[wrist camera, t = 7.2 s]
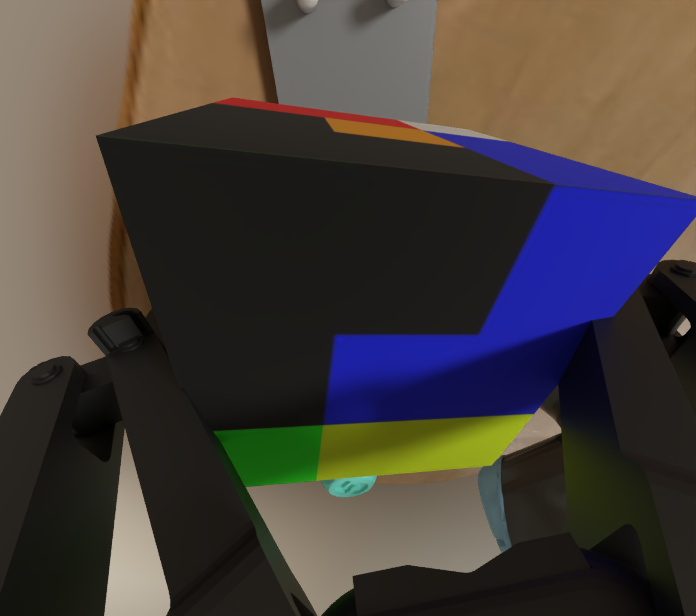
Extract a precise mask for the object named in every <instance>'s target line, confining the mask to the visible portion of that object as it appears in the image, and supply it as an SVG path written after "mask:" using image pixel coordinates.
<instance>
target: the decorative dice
mask: <svg viewBox="0 0 696 616" xmlns="http://www.w3.org/2000/svg"><path fill="white" fill-rule="evenodd" d="M376 478H377V476H365V477H354V478H342V479H331V480H321V483H322V484H323V486H324V487H325V489H326V490H327V491H328V492H329V493H330V494H332V495H334V496H337V497H352V496H356V495H360V494H362V493H365V492H366V491H368V490H369V489H370V488H371V487H372V486H373V484H374V482H375V480H376Z"/></svg>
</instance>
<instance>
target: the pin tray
mask: <svg viewBox="0 0 696 616" xmlns="http://www.w3.org/2000/svg"><path fill="white" fill-rule="evenodd" d="M261 2H262V8H263V14H264V20H265V26H266V32H267V38H268V43H269V49H270V55H271V61H272V67H273V73H274V79H275V84H276V90H277V96H278V102H279V104H283V105H290V106H298V107H305V108H313V109H320V110H327V111H335V112H342V113H350V114H357V115H364V116H372V117H379V118H387V119H394V120H401V121H409V122H416V123H424V124H427V116H428V104H429V92H430V80H431V68H432V56H433V44H434V32H435V20H436V8H437V0H261Z"/></svg>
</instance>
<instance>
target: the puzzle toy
mask: <svg viewBox="0 0 696 616" xmlns="http://www.w3.org/2000/svg"><path fill="white" fill-rule="evenodd" d="M96 138H97V141H98V144H99V147H100V150H101V153H102V156H103V159H104V162H105V165H106V168H107V171H108V175H109V178H110V181H111V184H112V187H113V190H114V193H115V196H116V199H117V202H118V205H119V208H120V211H121V214H122V217H123V220H124V223H125V226H126V229H127V232H128V235H129V238H130V241H131V245H132V248H133V251H134V254H135V257H136V260H137V263H138V266H139V269H140V272H141V275H142V278H143V281H144V284H145V287H146V290H147V293H148V296H149V299H150V302H151V305H152V308H153V311H154V314H155V318H156V321H157V324H158V327H159V330H160V333H161V336H162V339H163V342H164V345H165V348H166V351H167V354H168V357H169V360H170V363H171V366H172V369H173V372H174V375H175V378H176V381H177V384H178V387H179V389H180V388H184V390H185V391H186V392H187V394H188V395H189V397H190V398H191V400H192V401H193V403H194V404H195V406H196V407H197V408H198V410H199V411H200V413H201V414H202V416H203V417H204V419H205V420H206V421H207V423H208V424H209V426H210V427H211V429H212V430H213V432H214V433H215V434H216V436H217V437H218V439H219V440H220V442H221V443H222V445H223V447H224V449H225V451H226V452H227V454H228V456H229V458H230V460H231V462H232V463H233V465H234V467H235V469H236V471H237V473H238V474H239V476H240V478H241V480H242V482H243V484H244V486H245V487H250V486H261V485H273V484H284V483H296V482H308V481H319V480H331V479H342V478H354V477H365V476H377V475H388V474H400V473H412V472H423V471H435V470H446V469H458V468H469V467H481V466H492V464H493V463H494V462H495V461H496V460H497V458H498V457H499V456H500V455H501V454H502V452H503V451H504V450H505V449H506V447H507V446H508V445H509V444H510V443H511V441H512V440H513V439H514V438H515V436H516V435H517V434H518V433H519V432H520V430H521V429H522V428H523V427H524V425H525V424H526V423H527V422H528V421H529V419H530V418H531V417H532V416H533V415H534V413H535V412H536V411H537V410H538V408H539V407H540V406H541V405H542V404H543V402H544V401H545V400H546V399H547V397H548V396H549V395H550V394H551V393H552V391H553V390H554V389H555V388H556V386H557V385H558V383H559V381H560V379H561V377H562V375H563V373H564V372H565V370H566V368H567V366H568V364H569V362H570V360H571V359H572V357H573V355H574V353H575V351H576V349H577V347H578V345H579V344H580V342H581V340H582V338H583V336H584V334H585V332H586V331H587V329H588V327H589V325H590V323H591V321H592V320H596V319H602V318H608V317H614V316H615V315H616V313H617V312H618V311H619V310H620V308H621V307H622V306H623V305H624V304H625V302H626V301H627V300H628V299H629V298H630V296H631V295H632V294H633V293H634V291H635V290H636V289H637V288H638V287H639V285H640V284H641V283H642V282H643V280H644V279H645V278H646V277H647V276H648V274H649V273H650V272H651V271H652V269H653V268H654V267H655V266H656V265H657V263H658V262H659V261H660V260H661V259H662V257H663V256H664V255H665V254H666V252H667V251H668V250H669V249H670V248H671V246H672V245H673V244H674V243H675V241H676V240H677V239H678V238H679V237H680V235H681V234H682V233H683V232H684V230H685V229H686V228H687V227H688V226H689V224H690V223H691V222H692V221H693V220H694V218H695V217H696V196H693V195H689V194H686V193H683V192H679V191H676V190H672V189H669V188H665V187H662V186H659V185H655V184H652V183H648V182H645V181H642V180H638V179H635V178H631V177H628V176H625V175H621V174H618V173H614V172H611V171H607V170H604V169H601V168H597V167H594V166H590V165H587V164H584V163H580V162H577V161H573V160H570V159H567V158H563V157H560V156H556V155H553V154H550V153H546V152H543V151H539V150H536V149H532V148H529V147H526V146H522V145H519V144H515V143H512V142H509V141H505V140H502V139H498V138H495V137H492V136H488V135H485V134H481V133H478V132H474V131H471V130H468V129H461V128H453V127H446V126H438V125H431V124H424V123H416V122H409V121H401V120H394V119H387V118H379V117H372V116H364V115H357V114H350V113H342V112H335V111H327V110H320V109H313V108H305V107H298V106H290V105H283V104H276V103H268V102H261V101H254V100H246V99H239V98H229V99H225V100H222V101H218V102H215V103H211V104H207V105H204V106H200V107H197V108H193V109H189V110H186V111H182V112H179V113H175V114H172V115H168V116H164V117H161V118H157V119H154V120H150V121H146V122H143V123H139V124H136V125H132V126H128V127H125V128H121V129H118V130H114V131H111V132H107V133H104V134H100V135H96Z"/></svg>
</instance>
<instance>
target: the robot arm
mask: <svg viewBox="0 0 696 616" xmlns="http://www.w3.org/2000/svg"><path fill="white" fill-rule="evenodd" d="M151 310H152V311H150V312H149V313H148V315H147V316H146V318H145V317H144V315H143V314H142V312H141V311H140V310H138V309H136V308H125V309H120V310H117V311H114V312H111V313H109V314H107V315H105V316H103V317H101V318H100V319H99V320H97V321H96V322H95V323H94V324H93V325H92V326H91V327H90V328H89V330H88V335H89V337H90V338H91V339H92V340H93V341H94V342H95V344H96V345H97V346H98V347H99V348H100V350H101V351H102V352H103V353H104V354H105V355H106V357H103V358H101V359H98V360H95V361H92V362H89V363H86V364H84V365H81V366H80V365H79V364H78V363H77V362H76V361H75V360H74V359H73V358H71V357H70V356H69V357H68V356H61V357H57V358H53V359H50V360H48V361H45V362H42V363H40V364H38V365H37V366H35V367H33V368H31V369H30V370H29V371H28V372H27V373H26V374H25V375H24V376H22V377H21V379H20V380H19V381H18V382H17V384H16V386H15V388H14V390H13V392H12V394H11V396H10V398H9V400H8V402H7V403H6V405H5V407H4V409H3V412H2V414H1V415H0V616H104V612H105V603H106V593H107V584H108V575H109V566H110V557H111V548H112V538H113V529H114V520H115V511H116V502H117V493H118V484H119V474H120V465H121V455H122V447H123V436H124V428H125V429H126V433H127V437H128V441H129V445H130V448H131V452H132V456H133V460H134V463H135V467H136V471H137V474H138V478H139V481H140V485H141V489H142V493H143V497H144V501H145V504H146V508H147V512H148V515H149V519H150V523H151V527H152V530H153V534H154V538H155V542H156V545H157V549H158V553H159V556H160V560H161V564H162V567H163V571H164V575H165V579H166V583H167V586H168V590H169V595H170V609H169V611H168V613H167V615H166V616H317V614H316V613H315V611H314V609H313V607H312V605H311V603H310V602H309V600H308V598H307V596H306V595H305V593H304V591H303V590H302V588H301V586H300V584H299V583H298V581H297V580H296V578H295V576H294V575H293V573H292V572H291V570H290V568H289V566H288V565H287V563H286V561H285V559H284V558H283V555H282V554H281V552H280V550H279V548H278V546H277V544H276V543H275V541H274V539H273V537H272V535H271V533H270V531H269V530H268V528H267V526H266V524H265V522H264V520H263V519H262V517H261V515H260V513H259V512H258V509H257V508H256V506H255V504H254V502H253V500H252V499H251V497H250V495H249V493H248V491H247V489H246V487H245V486H244V484H243V482H242V480H241V478H240V476H239V474H238V473H237V471H236V469H235V467H234V465H233V463H232V462H231V460H230V458H229V456H228V454H227V452H226V451H225V449H224V447H223V445H222V443H221V442H220V440H219V439H218V437H217V436H216V434H215V433H214V432H213V430H212V429H211V427H210V426H209V424H208V423H207V421H206V420H205V419H204V417H203V416H202V414H201V413H200V411H199V410H198V408H197V407H196V406H195V404H194V403H193V401H192V400H191V398H190V397H189V395H188V394H187V392H186V391H185V390H184V388H180V389H179V387H178V384H177V381H176V378H175V375H174V372H173V369H172V366H171V363H170V360H169V357H168V354H167V351H166V348H165V345H164V342H163V339H162V336H161V333H160V330H159V327H158V324H157V321H156V318H155V314H154V311H153V308H152V309H151ZM686 318H687V319H688V320H689V322H690V325H691V328H690V329H689V330H688V332H687V333H686V334H685V335H683V336H682V335H681V334H680V333H679V332H678V331H677V329H678V328H679V326H680V325H681V324H682V322H683V321H684V320H685V319H686ZM540 408H541V409H542V410H543V411H545V412H546V413H547V414H549V415H550V416H551V417H552V418H553V419H554V420H555V421H556V422H557V423H558V425H559V426H560V427H561V431H562V433H560V434H558V435H555V436H552V437H550V438H548V439H545V440H543V441H540V442H538V443H535V444H533V445H531V446H528V447H526V448H523V449H521V450H518V451H516V452H513V453H510V454H508V455H502V456H500V458H499V459H497V460H496V461H495V462H494V463H493V464H492V466H483V467H482V468H481V469H480V471H479V474H478V486H479V492H480V496H481V501H482V504H483V508H484V511H485V514H486V516H487V520H488V522H489V525H490V528H491V530H492V533H493V535H494V537H495V538H496V540H497V543H498V545H499V548H500V550H501V552H502V553H501V554H500V555H498V556H497V557H495V558H493V559H492V560H490V561H489V562H488V563H486V564H484V565H483V566H481V567H480V568H478V569H476V570H475V571H473V572H470V573H462V572H454V571H447V570H440V569H432V568H425V567H418V566H411V565H405V566H400V567H395V568H390V569H386V570H380V571H375V572H370V573H365V574H360V575H356V576H353V584H354V588H353V589H352V590H350V591H348V592H347V593H345V594H344V595H342V596H341V597H340V598H339V599H337V600H336V602H334V603H333V604H332V605H331V606H330V607H329V608H328V609H327V610H326V611H325V612H324V613H323V614H322V615H321V616H696V263H695V262H691V261H689V262H688V261H685V260H664V261H661V262H659V263H658V264H657V266H656V267H655V269H654V270H653V272H652V274H648V276H647V277H646V278H645V279H644V280H643V282H642V283H641V284H640V285H639V287H638V288H637V289H636V290H635V291H634V293H633V294H632V295H631V296H630V298H629V299H628V300H627V301H626V302H625V304H624V305H623V306H622V307H621V308H620V310H619V311H618V312H617V313H616V315H615V316H614V317H608V318H602V319H596V320H592V321H591V323H590V325H589V327H588V329H587V331H586V332H585V334H584V336H583V338H582V340H581V342H580V344H579V345H578V347H577V349H576V351H575V353H574V355H573V357H572V359H571V360H570V362H569V364H568V366H567V368H566V370H565V372H564V373H563V375H562V377H561V379H560V381H559V383H558V385H557V386H556V388H555V389H554V390H553V391H552V393H551V394H550V395H549V396H548V397H547V399H546V400H545V401H544V402H543V404H542V405H541V406H540Z"/></svg>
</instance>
